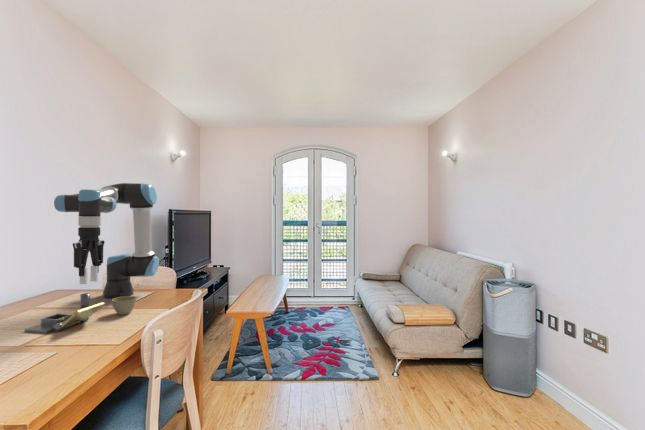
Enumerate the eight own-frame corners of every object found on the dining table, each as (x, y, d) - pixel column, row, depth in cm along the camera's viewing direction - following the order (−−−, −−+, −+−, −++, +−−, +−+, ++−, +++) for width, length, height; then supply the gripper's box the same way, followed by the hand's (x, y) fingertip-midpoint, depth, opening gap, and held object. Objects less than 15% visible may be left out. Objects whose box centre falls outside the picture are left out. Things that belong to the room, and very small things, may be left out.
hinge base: (66, 317, 146) (66, 309, 146) (92, 319, 144) (92, 311, 144) (24, 331, 128) (24, 323, 128) (53, 334, 127) (54, 325, 127)
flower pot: (140, 310, 158) (141, 296, 158) (126, 317, 148) (126, 301, 148) (121, 309, 159) (122, 295, 159) (106, 316, 149) (106, 300, 149)
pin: (84, 314, 151) (85, 292, 151) (91, 314, 151) (92, 293, 151) (78, 316, 148) (78, 294, 148) (85, 317, 147) (85, 295, 147)
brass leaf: (84, 321, 142) (80, 316, 142) (105, 303, 141) (101, 298, 141) (56, 332, 129) (52, 327, 129) (78, 312, 128) (75, 307, 128)
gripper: (98, 225, 144) (98, 278, 144) (61, 227, 126) (61, 286, 126) (113, 226, 143) (113, 278, 143) (79, 227, 125) (78, 287, 125)
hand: (88, 282), depth 135 cm, fingers open, 4 cm apart
